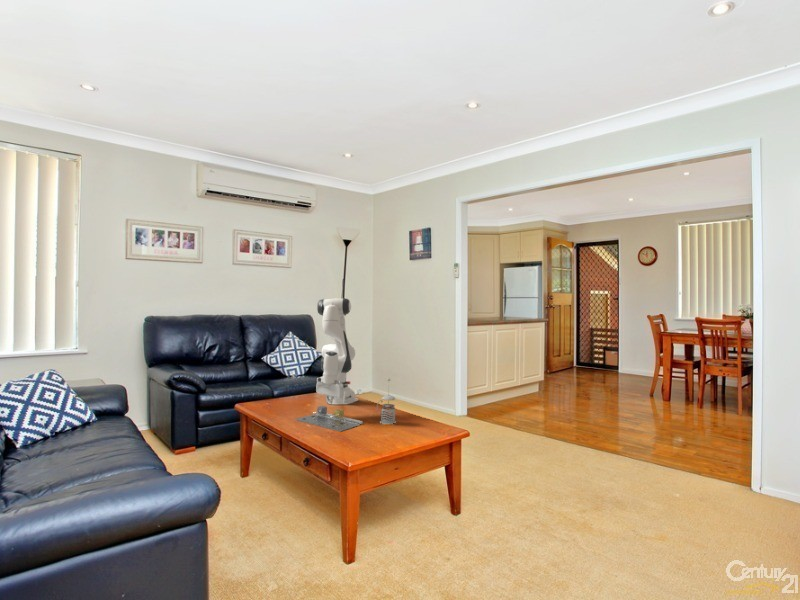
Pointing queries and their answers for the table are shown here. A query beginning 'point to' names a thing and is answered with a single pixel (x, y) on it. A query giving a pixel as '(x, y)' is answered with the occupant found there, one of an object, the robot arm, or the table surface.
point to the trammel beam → (323, 412)
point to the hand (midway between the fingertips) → (329, 403)
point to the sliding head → (338, 413)
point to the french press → (387, 419)
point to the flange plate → (327, 422)
